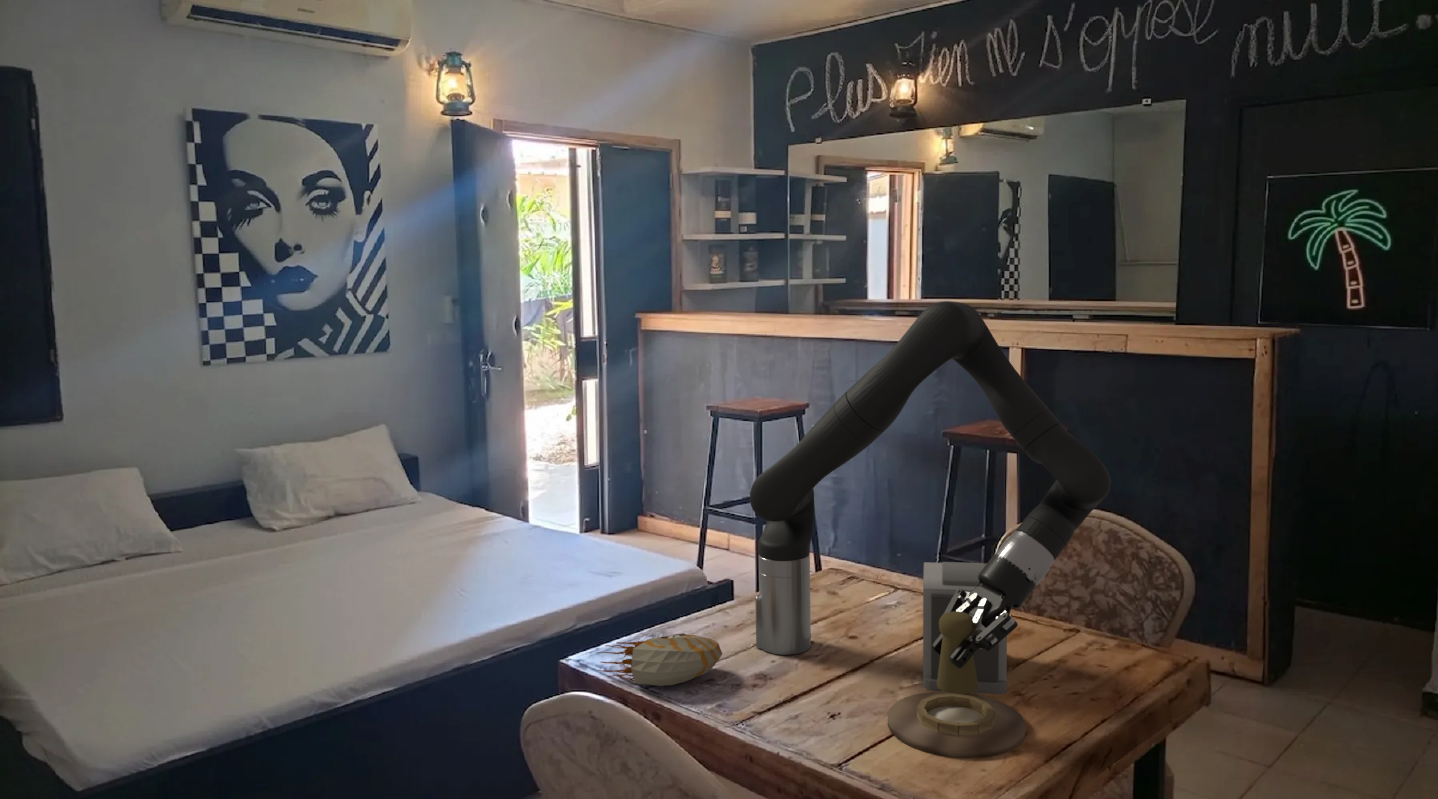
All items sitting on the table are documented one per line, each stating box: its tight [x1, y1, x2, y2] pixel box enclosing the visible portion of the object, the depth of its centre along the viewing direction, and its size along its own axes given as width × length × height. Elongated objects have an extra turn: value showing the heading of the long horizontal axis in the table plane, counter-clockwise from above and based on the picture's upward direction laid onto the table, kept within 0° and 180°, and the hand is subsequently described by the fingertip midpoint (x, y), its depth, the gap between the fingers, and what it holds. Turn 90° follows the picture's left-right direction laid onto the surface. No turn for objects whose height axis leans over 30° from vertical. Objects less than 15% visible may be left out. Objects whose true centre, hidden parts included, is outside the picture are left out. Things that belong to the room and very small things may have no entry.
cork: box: [937, 612, 978, 694], centre depth 153 cm, size 6×6×11 cm
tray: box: [887, 690, 1027, 759], centre depth 154 cm, size 20×20×3 cm
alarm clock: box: [922, 561, 1008, 695], centre depth 174 cm, size 18×13×18 cm
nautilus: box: [595, 633, 723, 687], centre depth 175 cm, size 8×22×15 cm
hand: (945, 657), depth 152 cm, fingers closed on cork, 4 cm apart
